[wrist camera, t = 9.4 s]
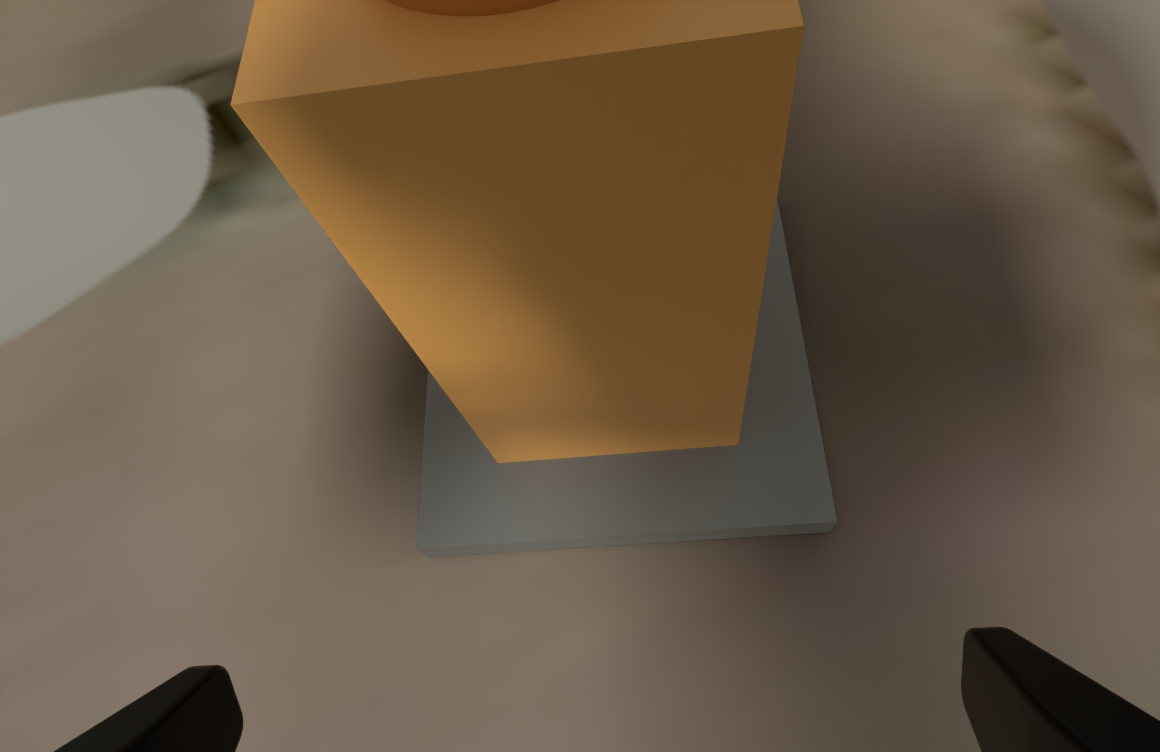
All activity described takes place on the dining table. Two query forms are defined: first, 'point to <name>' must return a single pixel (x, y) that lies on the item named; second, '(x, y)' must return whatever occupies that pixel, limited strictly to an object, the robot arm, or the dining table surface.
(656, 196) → the domed orange pillar
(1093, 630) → the dining table surface
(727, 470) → the plate
